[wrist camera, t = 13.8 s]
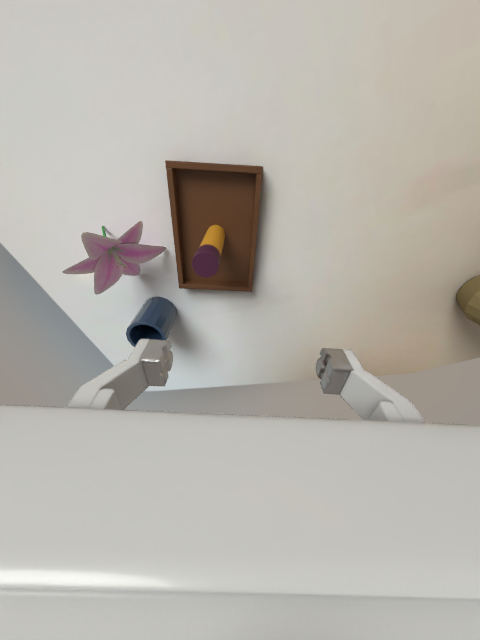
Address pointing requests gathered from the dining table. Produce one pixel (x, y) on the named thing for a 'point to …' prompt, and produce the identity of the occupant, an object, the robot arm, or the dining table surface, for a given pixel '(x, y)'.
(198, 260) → the glue stick
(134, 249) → the lily
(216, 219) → the desk tray
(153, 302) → the pen cup
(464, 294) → the squeeze bottle
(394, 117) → the dining table surface
